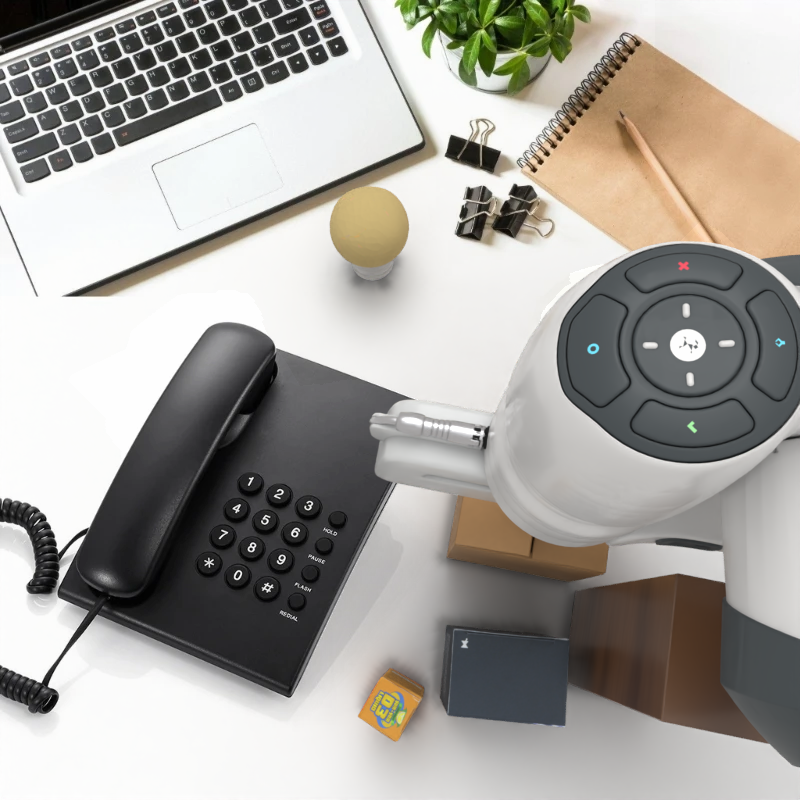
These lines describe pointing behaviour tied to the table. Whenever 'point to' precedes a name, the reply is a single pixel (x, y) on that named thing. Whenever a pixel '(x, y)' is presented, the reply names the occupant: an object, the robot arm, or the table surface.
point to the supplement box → (392, 704)
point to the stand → (656, 651)
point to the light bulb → (369, 230)
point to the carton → (534, 557)
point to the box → (505, 676)
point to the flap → (490, 528)
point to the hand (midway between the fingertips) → (533, 494)
